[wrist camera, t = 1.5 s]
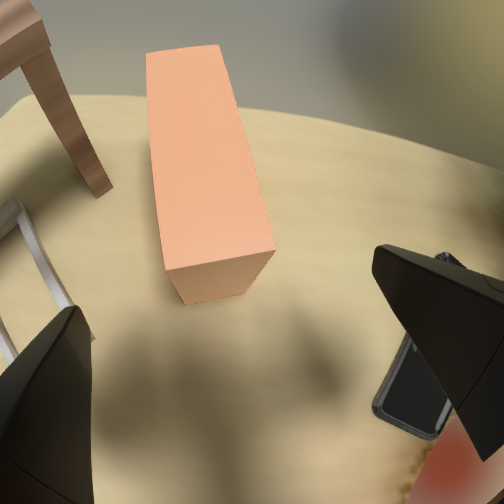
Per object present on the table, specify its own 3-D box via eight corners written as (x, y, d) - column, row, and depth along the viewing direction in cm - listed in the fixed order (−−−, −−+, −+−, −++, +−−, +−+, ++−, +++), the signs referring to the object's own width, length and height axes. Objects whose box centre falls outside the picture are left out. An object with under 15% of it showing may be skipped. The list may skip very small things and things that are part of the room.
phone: (491, 291, 23) (435, 443, 18) (483, 293, 24) (427, 441, 19) (441, 246, 23) (371, 412, 19) (433, 249, 24) (363, 410, 20)
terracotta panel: (244, 293, 21) (276, 249, 11) (185, 305, 20) (165, 270, 11) (211, 144, 24) (218, 44, 14) (162, 152, 23) (146, 53, 14)
